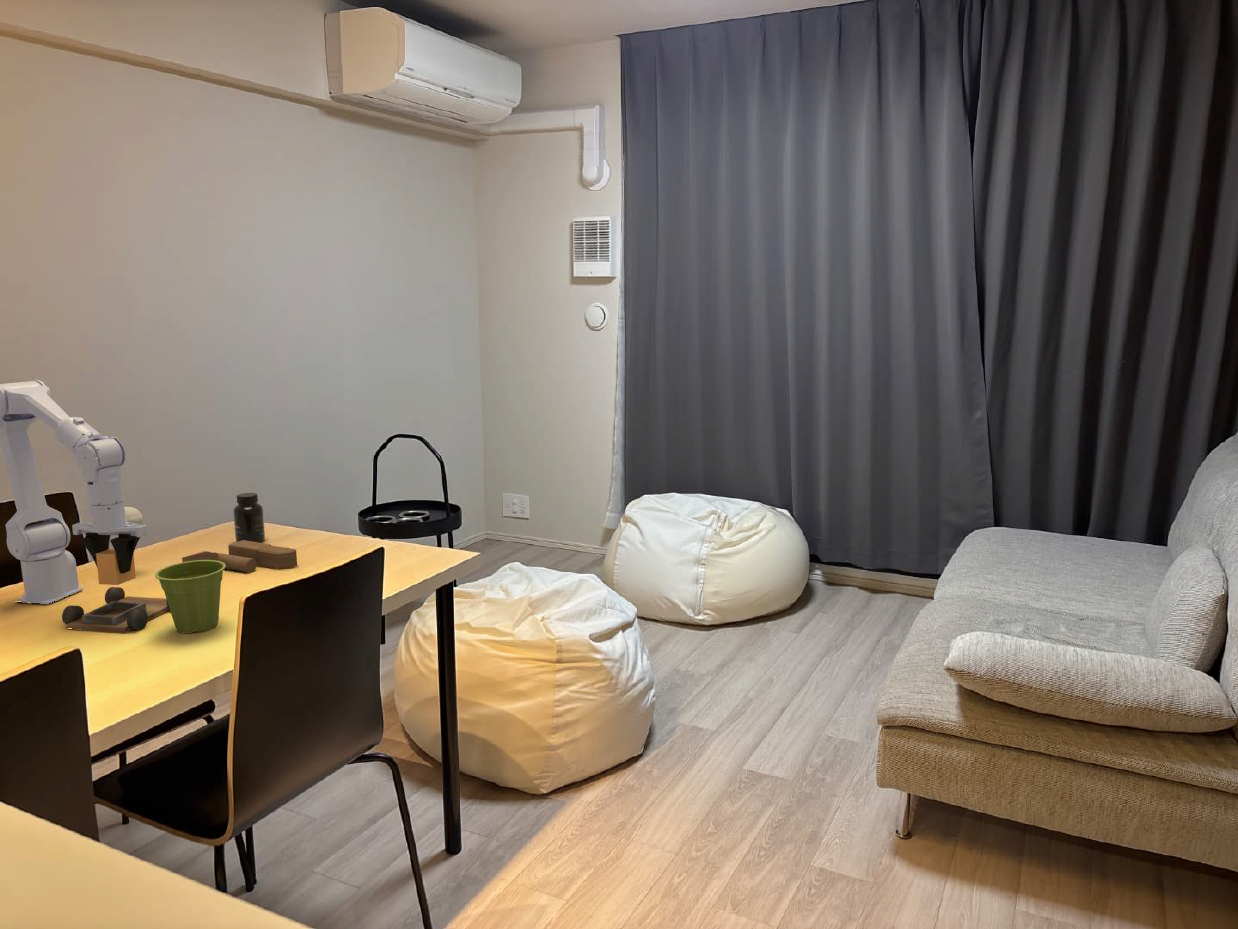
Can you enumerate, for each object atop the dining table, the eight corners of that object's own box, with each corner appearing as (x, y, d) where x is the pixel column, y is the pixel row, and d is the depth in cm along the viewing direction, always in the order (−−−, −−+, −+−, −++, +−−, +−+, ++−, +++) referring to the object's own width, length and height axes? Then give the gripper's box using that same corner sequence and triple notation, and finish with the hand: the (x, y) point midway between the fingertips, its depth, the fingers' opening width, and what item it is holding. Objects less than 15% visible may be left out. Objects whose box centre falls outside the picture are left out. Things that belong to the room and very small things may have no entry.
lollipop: (112, 575, 203) (104, 509, 200) (134, 568, 209) (126, 503, 206) (133, 578, 201) (125, 511, 198) (155, 570, 207) (148, 505, 204)
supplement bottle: (230, 544, 227) (225, 497, 225) (245, 537, 234) (241, 491, 232) (256, 545, 226) (251, 498, 224) (270, 538, 233) (266, 491, 230)
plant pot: (180, 616, 178) (175, 559, 175) (241, 616, 177) (236, 559, 175) (148, 639, 166) (141, 578, 164) (213, 639, 166) (207, 579, 163)
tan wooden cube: (117, 576, 181) (114, 547, 180) (135, 577, 180) (132, 547, 179) (99, 584, 176) (95, 553, 175) (117, 585, 176) (114, 554, 175)
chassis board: (121, 600, 187) (119, 583, 186) (188, 604, 184) (186, 587, 183) (60, 629, 171) (57, 610, 171) (133, 633, 168) (130, 615, 168)
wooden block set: (240, 535, 216) (297, 543, 209) (242, 558, 217) (299, 567, 210) (178, 553, 201) (237, 563, 194) (180, 578, 202) (239, 589, 195)
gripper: (154, 498, 178) (162, 566, 180) (88, 496, 180) (96, 563, 183) (129, 507, 171) (137, 577, 173) (60, 505, 173) (69, 574, 176)
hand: (114, 571), depth 177 cm, fingers closed on tan wooden cube, 4 cm apart
